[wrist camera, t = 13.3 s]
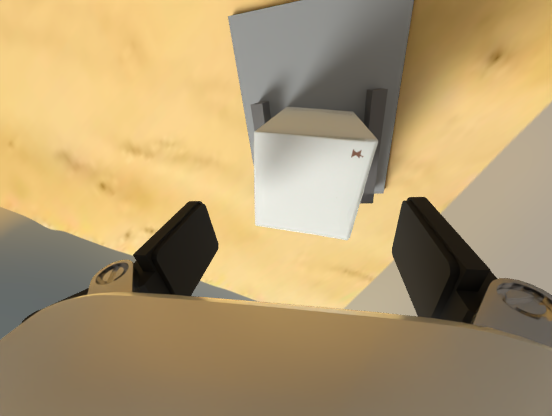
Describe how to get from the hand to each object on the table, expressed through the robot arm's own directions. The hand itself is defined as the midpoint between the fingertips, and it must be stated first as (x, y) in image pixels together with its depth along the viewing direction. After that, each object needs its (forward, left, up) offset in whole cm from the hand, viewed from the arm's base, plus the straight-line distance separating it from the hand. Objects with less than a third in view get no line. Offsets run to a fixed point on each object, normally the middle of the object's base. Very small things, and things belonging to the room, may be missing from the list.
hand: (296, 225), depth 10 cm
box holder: (-3, 0, -18) cm, 18 cm away
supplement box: (0, 0, -17) cm, 17 cm away
